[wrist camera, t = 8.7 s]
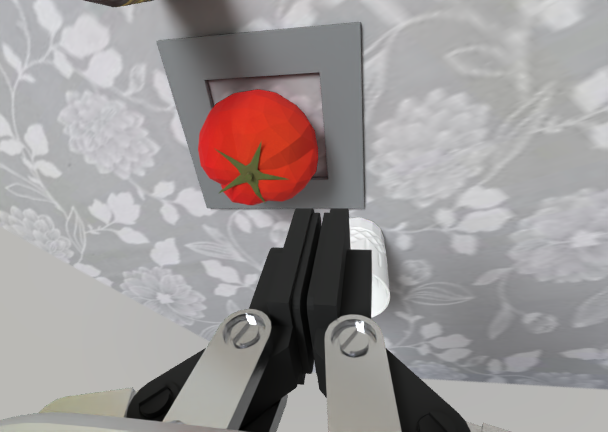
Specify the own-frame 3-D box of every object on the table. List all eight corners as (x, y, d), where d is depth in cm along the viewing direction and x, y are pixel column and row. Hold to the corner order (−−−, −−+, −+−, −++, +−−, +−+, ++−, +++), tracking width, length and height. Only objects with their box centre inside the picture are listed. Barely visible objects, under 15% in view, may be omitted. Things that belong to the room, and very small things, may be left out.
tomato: (209, 152, 45) (171, 199, 37) (232, 57, 38) (191, 90, 30) (303, 190, 46) (286, 245, 38) (341, 104, 39) (331, 148, 31)
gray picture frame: (360, 21, 35) (360, 23, 34) (364, 205, 46) (364, 208, 45) (159, 40, 38) (156, 41, 38) (208, 205, 50) (207, 208, 49)
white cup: (401, 240, 48) (406, 300, 40) (356, 269, 52) (351, 329, 44) (358, 201, 46) (353, 257, 38) (313, 235, 50) (301, 292, 42)
